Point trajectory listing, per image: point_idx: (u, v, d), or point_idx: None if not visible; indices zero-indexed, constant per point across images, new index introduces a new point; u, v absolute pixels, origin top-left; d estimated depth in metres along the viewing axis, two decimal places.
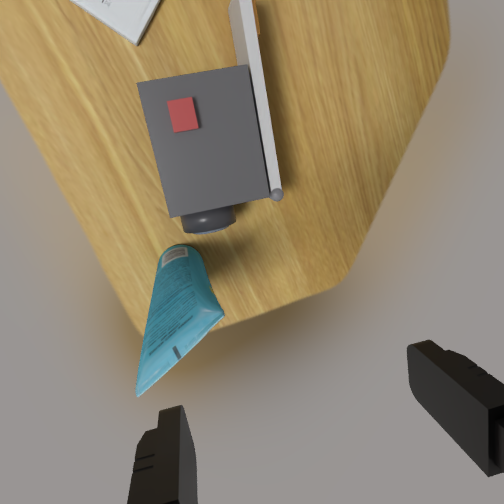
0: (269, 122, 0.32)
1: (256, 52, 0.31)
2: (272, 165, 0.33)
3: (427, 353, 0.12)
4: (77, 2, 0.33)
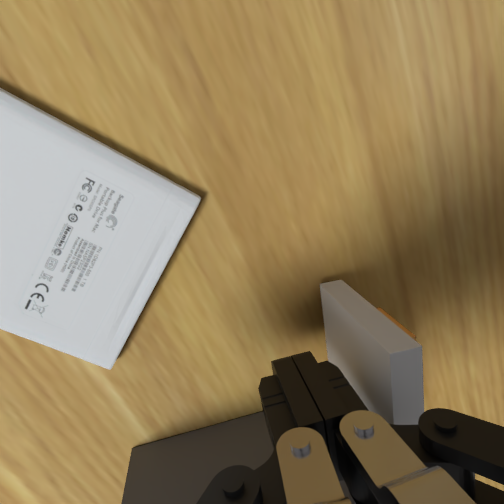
0: None
1: None
2: None
3: (300, 364, 0.13)
4: None
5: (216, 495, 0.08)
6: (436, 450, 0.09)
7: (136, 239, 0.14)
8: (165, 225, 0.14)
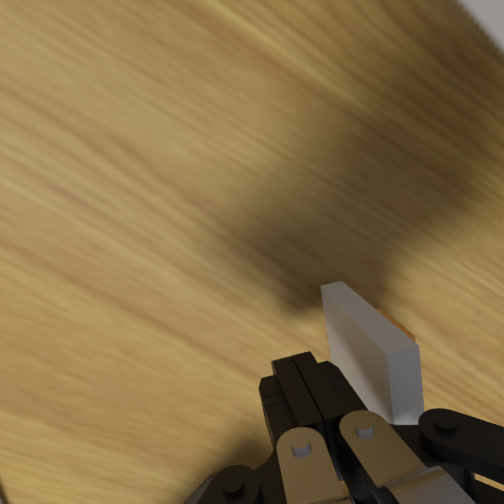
0: None
1: None
2: None
3: (300, 364, 0.13)
4: None
5: (216, 495, 0.08)
6: (436, 450, 0.09)
7: None
8: None
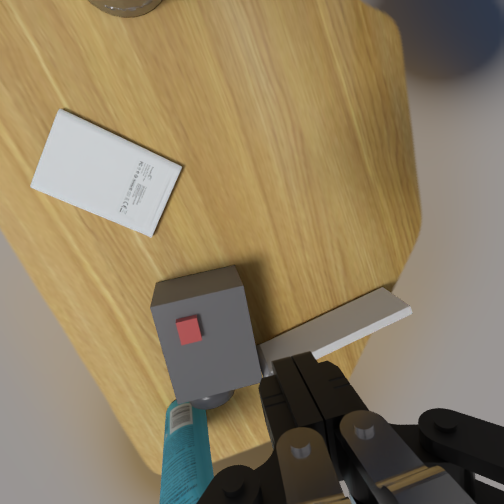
0: (323, 354, 0.40)
1: (369, 331, 0.40)
2: None
3: (300, 364, 0.13)
4: (99, 215, 0.38)
5: (216, 495, 0.08)
6: (436, 450, 0.09)
7: (158, 183, 0.38)
8: (169, 177, 0.38)
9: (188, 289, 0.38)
